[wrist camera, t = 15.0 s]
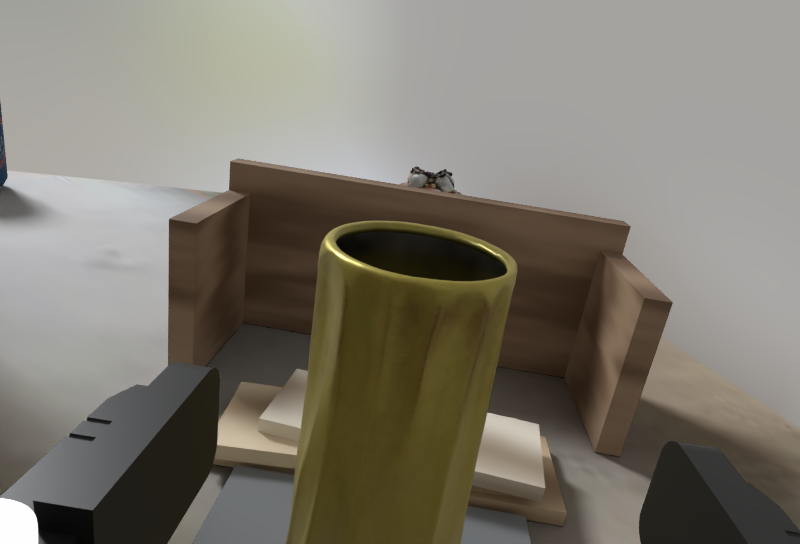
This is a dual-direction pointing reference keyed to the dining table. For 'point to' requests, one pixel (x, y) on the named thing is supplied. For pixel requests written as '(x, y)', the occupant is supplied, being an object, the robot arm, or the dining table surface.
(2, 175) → the soda can
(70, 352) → the dining table surface
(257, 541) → the mat
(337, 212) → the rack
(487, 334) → the vase
